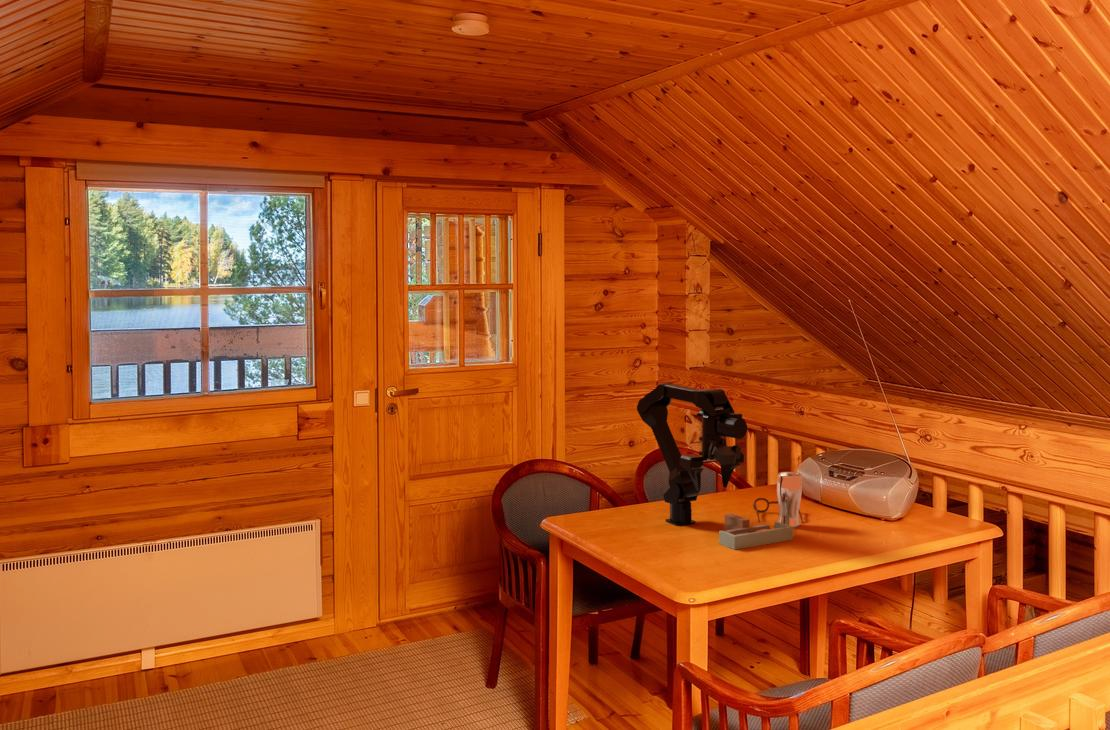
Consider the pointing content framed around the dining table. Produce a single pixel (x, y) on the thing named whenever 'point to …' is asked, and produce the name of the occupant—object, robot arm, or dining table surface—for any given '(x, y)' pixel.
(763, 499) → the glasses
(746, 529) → the scraper
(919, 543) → the dining table surface
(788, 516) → the beer glass
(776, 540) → the box
